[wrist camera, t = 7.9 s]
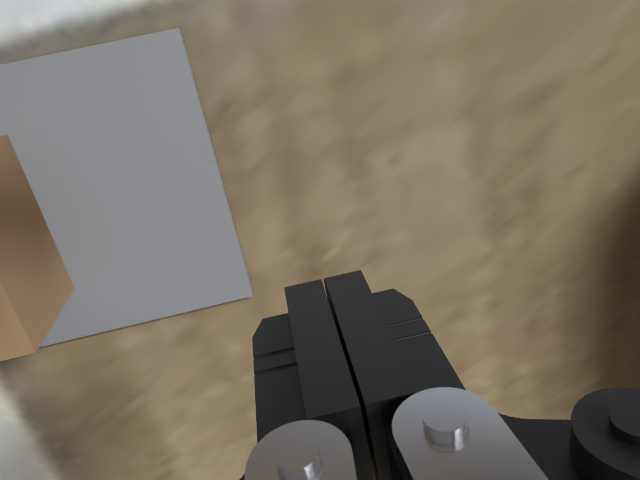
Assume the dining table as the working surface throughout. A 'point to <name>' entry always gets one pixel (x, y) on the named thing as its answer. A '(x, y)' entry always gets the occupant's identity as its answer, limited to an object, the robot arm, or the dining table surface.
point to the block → (26, 264)
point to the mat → (124, 181)
